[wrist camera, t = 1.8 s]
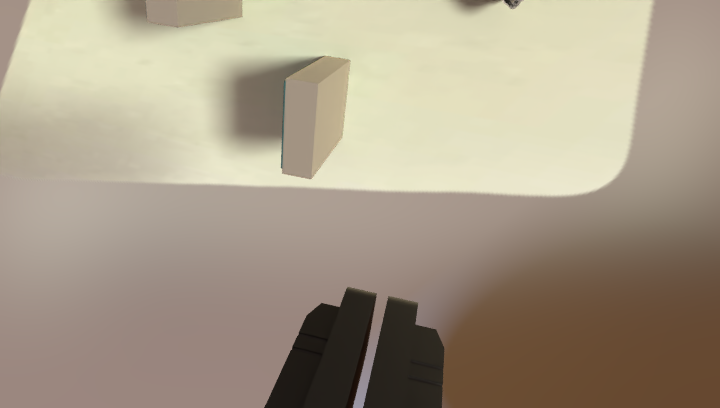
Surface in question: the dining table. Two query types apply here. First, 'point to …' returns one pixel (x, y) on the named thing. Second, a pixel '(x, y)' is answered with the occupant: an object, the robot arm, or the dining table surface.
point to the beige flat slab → (191, 11)
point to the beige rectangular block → (313, 115)
